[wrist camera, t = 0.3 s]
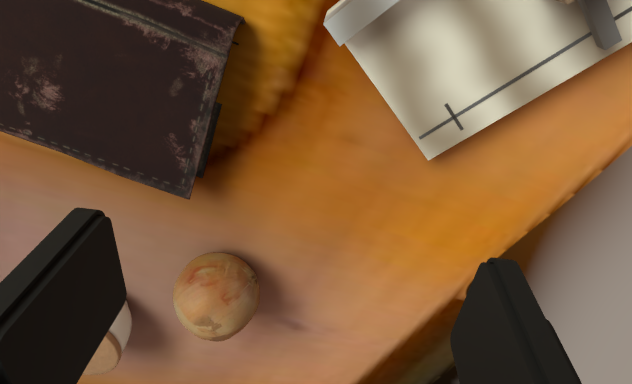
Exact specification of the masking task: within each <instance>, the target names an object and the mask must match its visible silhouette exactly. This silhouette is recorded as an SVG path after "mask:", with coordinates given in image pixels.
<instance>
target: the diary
mask: <svg viewBox="0 0 632 384" xmlns="http://www.w3.org/2000/svg"><path fill="white" fill-rule="evenodd" d="M244 23H245V20H244V18H243V17H241V16H239V15H236V14H234V13H232V12H229V11H227V10H224V9H222V8H219V7H217V6H214V5H212V4H209V3H207V2H204V1H202V0H0V131H2V132H5V133H7V134H10V135H13V136H16V137H19V138H22V139H25V140H28V141H30V142H33V143H36V144H39V145H42V146H45V147H48V148H50V149H53V150H56V151H59V152H62V153H64V154H67V155H70V156H72V157H75V158H77V159H80V160H82V161H85V162H87V163H90V164H92V165H94V166H97V167H99V168H102V169H104V170H107V171H109V172H112V173H114V174H117V175H119V176H122V177H125V178H128V179H130V180H133V181H136V182H139V183H142V184H145V185H148V186H151V187H154V188H157V189H160V190H162V191H165V192H168V193H171V194H174V195H177V196H180V197H183V198H186V199H190V196H191V192H192V189H193V185H194V181H195V177H196V176H198V177H200V178H203V174H204V170H205V166H206V163H207V159H208V155H209V151H210V147H211V144H212V140H213V136H214V132H215V128H216V124H217V121H218V117H219V113H220V109H221V105H222V104H220V103H217V102H216V99H217V95H218V92H219V88H220V84H221V81H222V77H223V74H224V70H225V66H226V63H227V59H228V56H229V52H230V48H231V44H232V43H234V44H236V45H238V43H236V42H233V37H234V33H235V31H236V29H237V27H238V26H239V24H244Z"/></svg>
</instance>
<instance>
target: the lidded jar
mask: <svg viewBox="0 0 632 384" xmlns="http://www.w3.org/2000/svg"><path fill="white" fill-rule="evenodd" d="M131 328H132V317H131V313H130V310H129V308H128V303H127V301H125V304H124V306H123V308H122V309H121V311H120V312H119V314H118V316H117V317H116V319H115V321H114V322H113V324H112V326H111V327H110V329H109V331H108V332H107V334H106V336H105V337H104V339H103V341H102V342H101V344H100V346H99V347H98V349H97V350H96V352H95V354H94V355H93V357H92V359H91V360H90V362H89V364H88V365H87V367H86V369H85V370H84V372H83V374H85V375H98V374H104V373H107V372H109V371H111V370H112V369H114V368H115V367H116V366H117V364H118V362H119V360H120V358H121V355H122V353H123V351H124V349H125V347H126V345H127V342H128V339H129V337H130V333H131Z"/></svg>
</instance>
